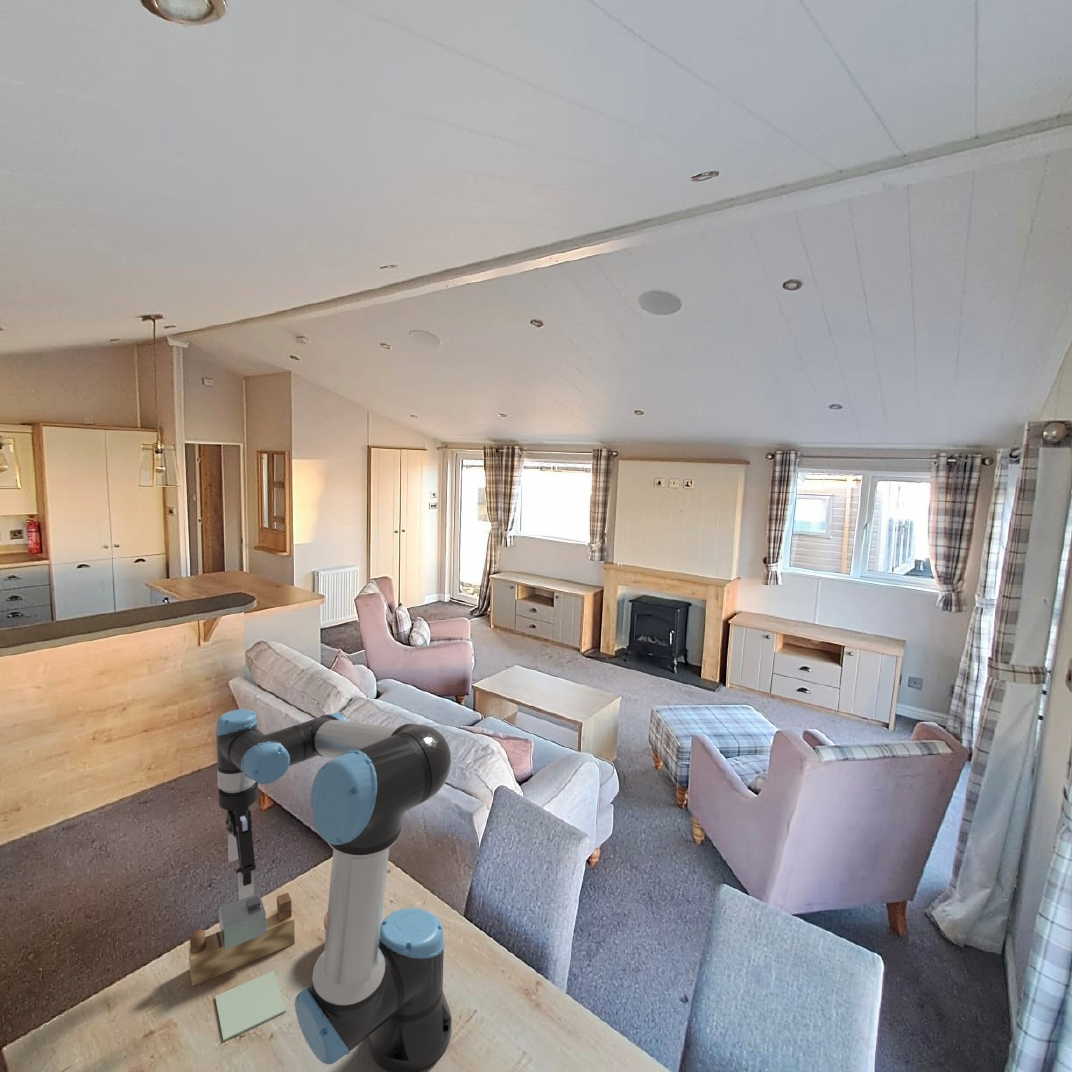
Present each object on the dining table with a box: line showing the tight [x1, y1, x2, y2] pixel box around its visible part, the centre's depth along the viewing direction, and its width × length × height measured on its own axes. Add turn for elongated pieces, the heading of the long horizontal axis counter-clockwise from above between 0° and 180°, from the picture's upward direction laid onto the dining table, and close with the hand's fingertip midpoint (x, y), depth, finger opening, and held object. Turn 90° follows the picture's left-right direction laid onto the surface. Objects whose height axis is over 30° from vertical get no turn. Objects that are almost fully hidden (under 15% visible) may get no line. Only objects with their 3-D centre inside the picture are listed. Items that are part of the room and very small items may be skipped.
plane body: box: [188, 892, 296, 987], centre depth 129 cm, size 20×5×10 cm, turn 125°
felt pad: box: [214, 970, 287, 1042], centre depth 118 cm, size 11×11×1 cm
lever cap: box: [218, 892, 267, 950], centre depth 128 cm, size 7×8×6 cm
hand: (240, 877), depth 127 cm, fingers open, 13 cm apart
